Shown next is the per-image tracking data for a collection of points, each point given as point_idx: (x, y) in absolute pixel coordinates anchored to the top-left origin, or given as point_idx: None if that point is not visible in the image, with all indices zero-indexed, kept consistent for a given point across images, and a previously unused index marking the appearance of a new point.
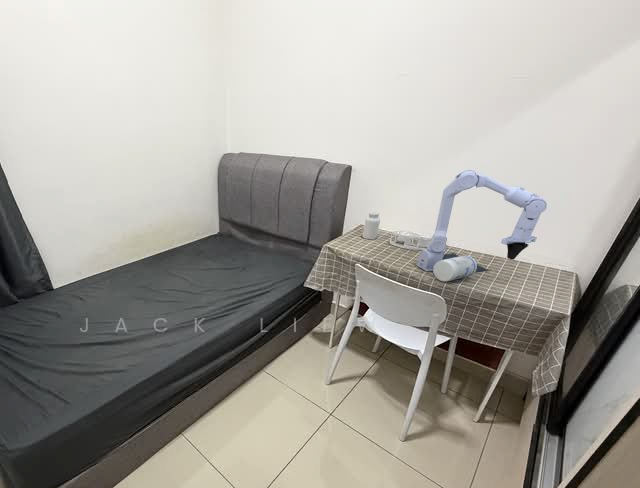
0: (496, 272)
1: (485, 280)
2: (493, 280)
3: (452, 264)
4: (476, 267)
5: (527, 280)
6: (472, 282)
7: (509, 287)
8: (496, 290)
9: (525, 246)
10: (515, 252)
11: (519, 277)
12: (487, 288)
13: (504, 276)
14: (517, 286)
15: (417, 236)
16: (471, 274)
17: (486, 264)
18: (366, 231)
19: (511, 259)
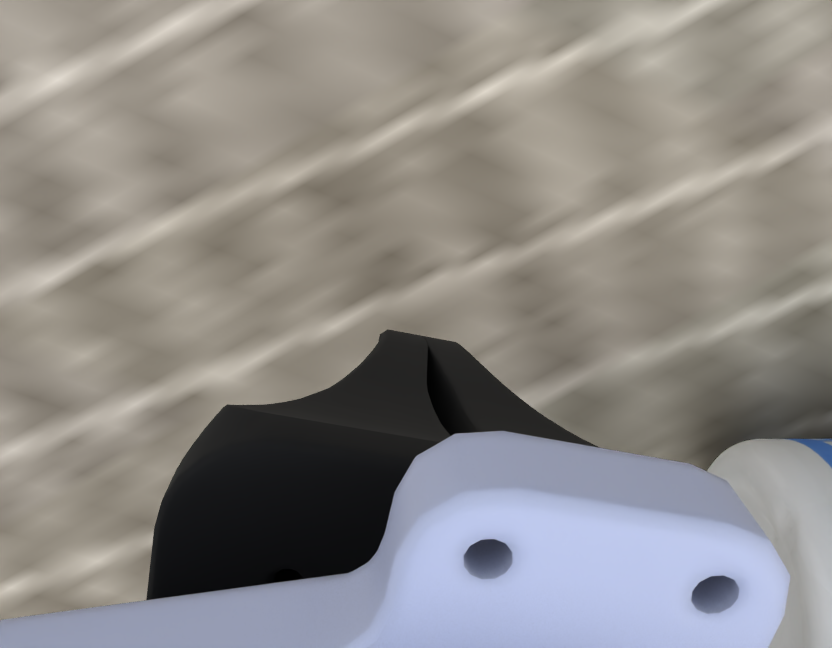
0: (201, 399)
1: (592, 308)
2: (495, 266)
3: None
4: (816, 495)
5: (21, 64)
6: (802, 336)
7: (523, 36)
8: (788, 57)
9: (381, 429)
10: (540, 414)
11: (40, 177)
12: (827, 149)
13: (222, 283)
14: (379, 4)
15: None
16: (788, 439)
17: (88, 586)
18: None
19: (458, 345)
